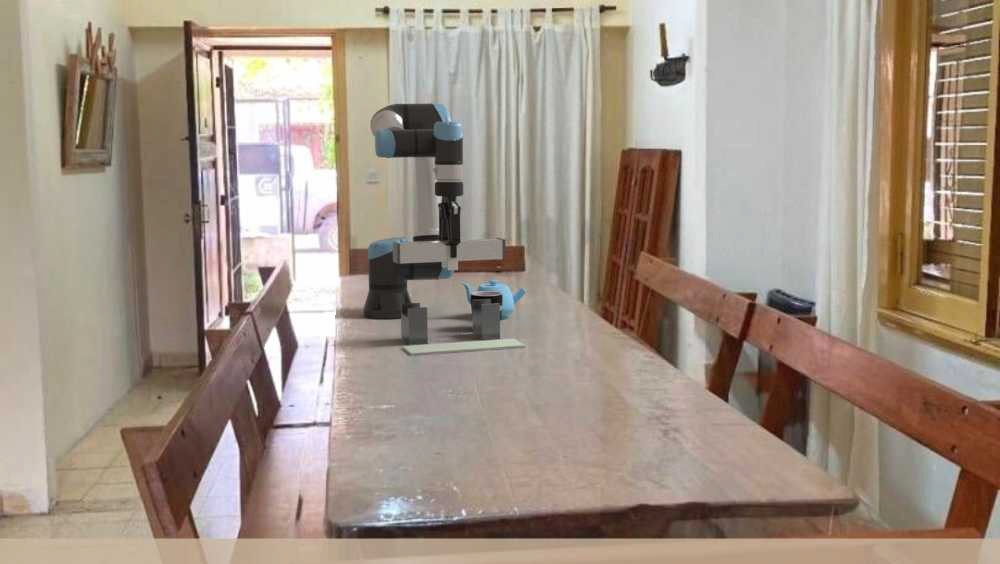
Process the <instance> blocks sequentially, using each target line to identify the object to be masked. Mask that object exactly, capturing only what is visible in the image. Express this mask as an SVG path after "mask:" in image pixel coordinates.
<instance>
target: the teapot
mask: <svg viewBox="0 0 1000 564" xmlns="http://www.w3.org/2000/svg"><path fill="white" fill-rule="evenodd" d="M498 282H499V281H498V280H497V279H491V280H489V283H483V284H480V285H479V286H478V288H477V290H476V292H479V291H496V292H501V293H502V294H503V301H502V314H501V320H509V319H508V316H509V315H512V314H513V311H514V309H515V305H516V304H517V303H518V302H519V301H520V300H521V299H522V298H523V297H524V296H525V295H526V294H527V293H528V291H526V290H525V289H524V288H523V287H520V289H519V290H518V291H517V292H516V293H515V295H514V296H513V294H512V292H511V289H510V287H509V285H507V284H505V283H498ZM460 284H462V285H463V287H465V291H466V292H465V293H466V298H467V302H468V303H469V304H470V305H471V293H472V291H471V286H470V285H469V284H468V283H466V282H465V283H464V282H460Z"/></svg>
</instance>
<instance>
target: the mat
mask: <svg viewBox="0 0 1000 564" xmlns="http://www.w3.org/2000/svg"><path fill="white" fill-rule="evenodd" d="M520 348H522V349H524V348H526V345H525V344H524V343H522V342H520V341H519V340H517V339H515V338H505V339H504V338H503V339H489V340H477V341H476V340H475V341H474V340H473V341H461V342H459V341H457V342H447V343H445V342H444V343H429V344H416V345H403V346H402V349H403V350H404V351H405V352H406V353H408V355H410V356H411V357H412V356H425V355H426V356H427V355H438V354H439V355H440V354H451V353H463V352H465V353H466V352H479V351H480V352H481V351H493V350H507V349H508V350H509V349H520Z"/></svg>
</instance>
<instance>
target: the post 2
mask: <svg viewBox="0 0 1000 564" xmlns="http://www.w3.org/2000/svg"><path fill="white" fill-rule="evenodd" d="M472 307H473V309H471V316H472V335H474V336H475V337H477V338H478V337H479V338H478V339H480V340H481V341H487V340H501V321H500V304H499V303H493V304H491V299H479V300H472Z"/></svg>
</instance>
